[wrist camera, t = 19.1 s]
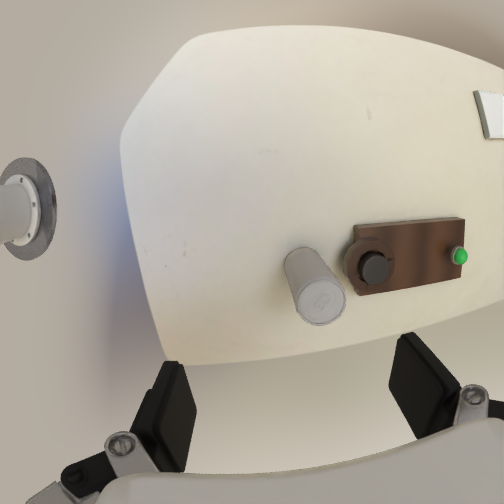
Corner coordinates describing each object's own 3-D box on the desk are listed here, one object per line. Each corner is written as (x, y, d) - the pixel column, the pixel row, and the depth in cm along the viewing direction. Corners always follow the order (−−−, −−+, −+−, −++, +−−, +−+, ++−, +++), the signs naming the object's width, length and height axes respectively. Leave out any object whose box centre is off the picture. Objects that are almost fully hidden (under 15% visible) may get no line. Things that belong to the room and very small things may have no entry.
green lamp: (448, 264, 32) (457, 269, 29) (450, 246, 31) (459, 250, 29) (461, 262, 31) (470, 266, 29) (462, 244, 31) (472, 248, 29)
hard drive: (472, 91, 28) (509, 97, 27) (484, 138, 30) (519, 139, 29) (478, 89, 27) (515, 96, 26) (490, 138, 29) (524, 139, 28)
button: (357, 281, 33) (362, 286, 31) (357, 253, 32) (362, 257, 30) (383, 277, 32) (388, 282, 31) (384, 250, 32) (390, 253, 30)
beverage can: (276, 268, 36) (284, 310, 24) (299, 238, 35) (319, 268, 23) (305, 288, 37) (324, 335, 25) (328, 260, 36) (358, 297, 24)
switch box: (338, 292, 37) (347, 304, 33) (337, 226, 35) (346, 232, 31) (452, 273, 36) (467, 281, 32) (456, 217, 34) (472, 221, 30)
